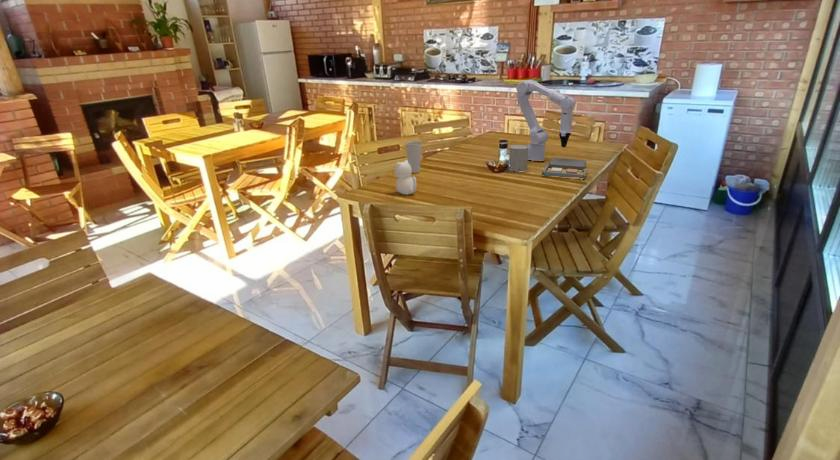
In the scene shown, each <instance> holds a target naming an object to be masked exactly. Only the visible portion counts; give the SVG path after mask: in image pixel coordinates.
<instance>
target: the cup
mask: <svg viewBox="0 0 840 460" xmlns="http://www.w3.org/2000/svg"><path fill="white" fill-rule="evenodd" d="M405 151H406V152H405V153H406V158H407V160H408V163H409V164H410V166H411V168H412V173H411V174H417V173H420V172H421V159H422V141H421V140H420V141H418V140H410V141H406V142H405Z"/></svg>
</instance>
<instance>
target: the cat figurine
mask: <svg viewBox="0 0 840 460" xmlns="http://www.w3.org/2000/svg"><path fill="white" fill-rule="evenodd" d="M412 174H413V173H412V168H411V166H410V164H409V163H408V160H407V159H404V161H398V162H396V165H395V167H394V176H395V177H396V178H397V180H396V183H395V189H396V191H397V192H398V194H401V195H406V196H409V195H412V194H414V193H415V192H416V191H417V187H418V186H417V178H416V176H414V175H413V176H411V175H412Z"/></svg>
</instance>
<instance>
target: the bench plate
mask: <svg viewBox="0 0 840 460" xmlns="http://www.w3.org/2000/svg"><path fill="white" fill-rule="evenodd" d="M585 164H586V165H587V160H586V159H579V158H578V159H576V158H564V157H553V158H552V159H551V160H550V161H549V163H548V165H549V168H563V169H578V170H583V169H584V170H585V168H584V166H585ZM585 167H586V166H585Z"/></svg>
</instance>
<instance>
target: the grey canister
mask: <svg viewBox="0 0 840 460" xmlns="http://www.w3.org/2000/svg"><path fill="white" fill-rule="evenodd" d="M527 159H528V145H525V144H511V145H510V146H509V155H508V162H509V161H510V170H512V171H515V172H514V173H520V172H519V171H525V170H527V171H528V161H527ZM525 172H526V171H525Z"/></svg>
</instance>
